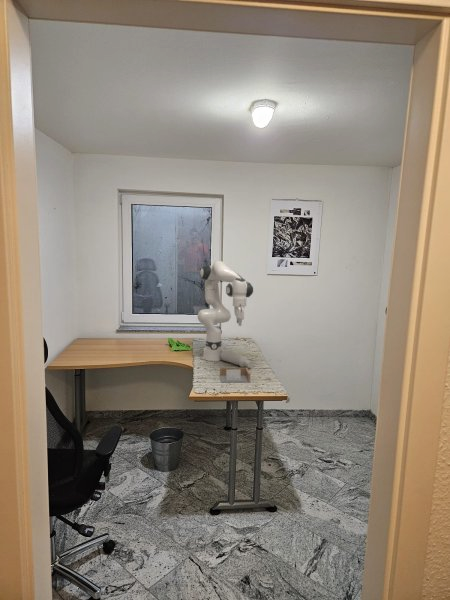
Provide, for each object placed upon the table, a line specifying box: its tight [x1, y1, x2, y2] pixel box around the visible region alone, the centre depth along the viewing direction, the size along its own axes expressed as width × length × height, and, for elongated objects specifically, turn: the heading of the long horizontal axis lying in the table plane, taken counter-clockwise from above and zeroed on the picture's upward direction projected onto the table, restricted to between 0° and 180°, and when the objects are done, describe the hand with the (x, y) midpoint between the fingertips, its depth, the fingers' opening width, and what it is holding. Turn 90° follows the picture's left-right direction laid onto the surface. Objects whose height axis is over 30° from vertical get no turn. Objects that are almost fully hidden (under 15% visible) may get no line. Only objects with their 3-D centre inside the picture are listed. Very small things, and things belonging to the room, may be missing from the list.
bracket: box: [226, 369, 241, 381], centre depth 228 cm, size 9×4×6 cm, turn 95°
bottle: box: [220, 348, 253, 369], centre depth 264 cm, size 9×9×30 cm
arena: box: [219, 367, 251, 384], centre depth 231 cm, size 13×18×6 cm
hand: (238, 324), depth 236 cm, fingers open, 8 cm apart
